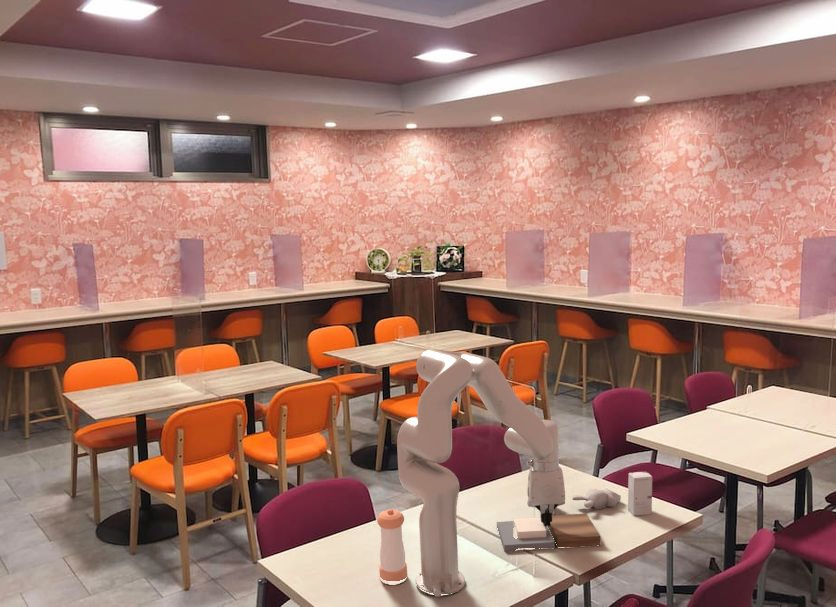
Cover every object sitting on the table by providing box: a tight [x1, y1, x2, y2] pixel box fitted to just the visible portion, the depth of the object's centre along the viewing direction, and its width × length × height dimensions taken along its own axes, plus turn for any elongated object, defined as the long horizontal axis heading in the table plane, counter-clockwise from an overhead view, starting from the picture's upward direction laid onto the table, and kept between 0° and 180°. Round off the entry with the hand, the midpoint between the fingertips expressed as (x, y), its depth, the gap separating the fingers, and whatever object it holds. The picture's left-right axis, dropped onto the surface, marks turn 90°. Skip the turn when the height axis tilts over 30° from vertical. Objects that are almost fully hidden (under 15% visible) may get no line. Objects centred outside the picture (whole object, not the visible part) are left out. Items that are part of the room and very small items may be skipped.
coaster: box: [512, 517, 546, 538], centre depth 206 cm, size 8×8×2 cm
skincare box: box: [627, 471, 653, 516], centre depth 218 cm, size 6×4×12 cm
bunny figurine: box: [571, 488, 622, 510], centre depth 224 cm, size 10×5×15 cm
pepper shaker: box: [376, 508, 408, 581], centre depth 186 cm, size 7×7×19 cm
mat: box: [496, 520, 555, 553], centre depth 206 cm, size 14×14×2 cm
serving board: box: [547, 513, 601, 548], centre depth 206 cm, size 14×12×3 cm
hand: (546, 524), depth 206 cm, fingers closed
